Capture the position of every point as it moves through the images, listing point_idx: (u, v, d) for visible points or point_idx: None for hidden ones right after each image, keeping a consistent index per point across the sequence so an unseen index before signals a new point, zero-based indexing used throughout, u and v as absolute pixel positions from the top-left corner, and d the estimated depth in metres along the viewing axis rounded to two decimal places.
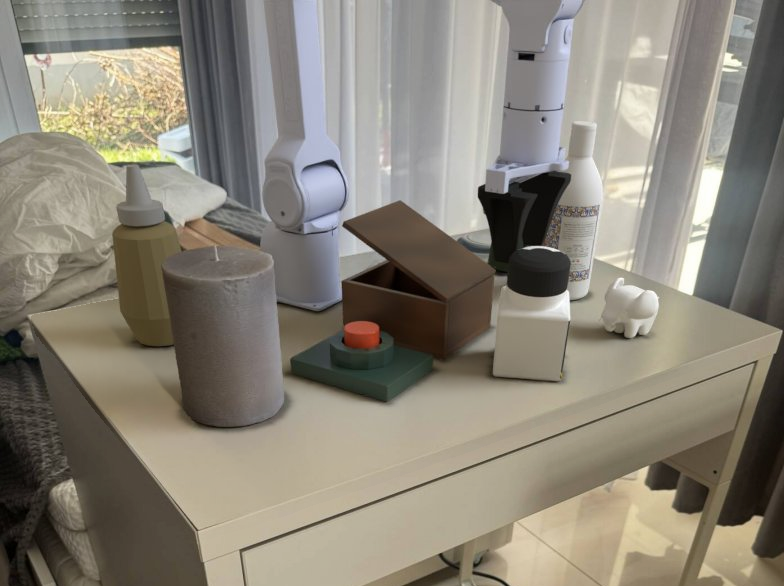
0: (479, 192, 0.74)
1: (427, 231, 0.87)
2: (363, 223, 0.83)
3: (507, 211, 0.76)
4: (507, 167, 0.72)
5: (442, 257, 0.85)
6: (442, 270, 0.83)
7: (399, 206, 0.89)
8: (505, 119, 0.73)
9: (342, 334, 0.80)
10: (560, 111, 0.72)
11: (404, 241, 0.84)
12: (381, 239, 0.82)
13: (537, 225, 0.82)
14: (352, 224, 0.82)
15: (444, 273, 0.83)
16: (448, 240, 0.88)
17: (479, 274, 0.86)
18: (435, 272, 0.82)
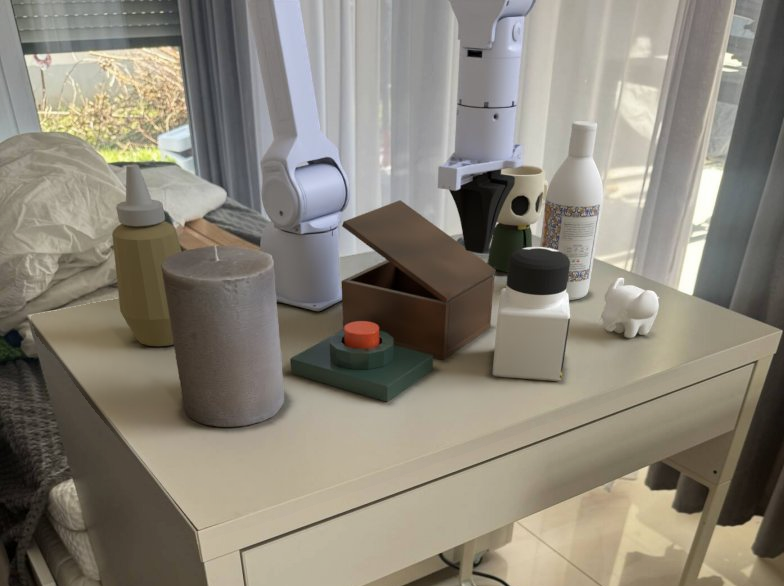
0: None
1: (427, 231, 0.87)
2: (363, 223, 0.83)
3: (476, 201, 0.78)
4: (460, 164, 0.73)
5: (442, 257, 0.85)
6: (442, 270, 0.83)
7: (399, 206, 0.89)
8: (458, 116, 0.73)
9: (342, 334, 0.80)
10: (512, 108, 0.72)
11: (404, 241, 0.84)
12: (381, 239, 0.82)
13: None
14: (352, 224, 0.82)
15: (444, 273, 0.83)
16: (448, 240, 0.88)
17: (479, 274, 0.86)
18: (435, 272, 0.82)
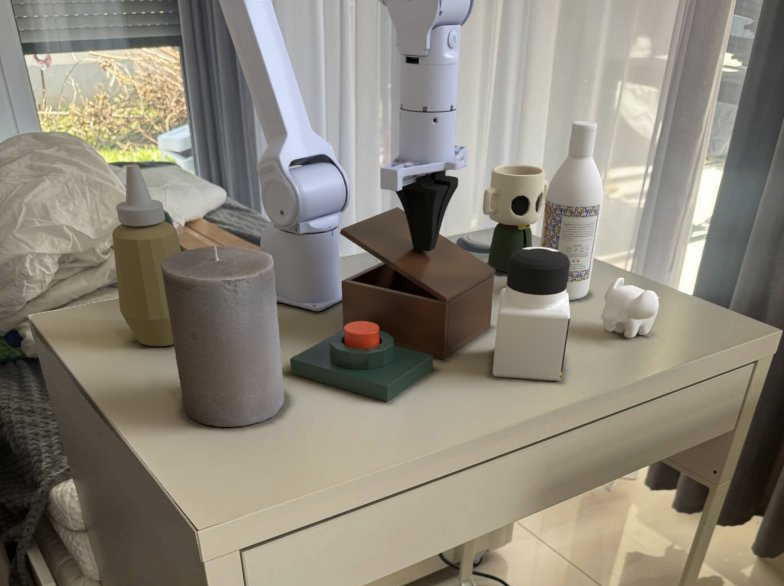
0: None
1: None
2: (361, 230, 0.84)
3: (421, 201, 0.81)
4: (401, 166, 0.76)
5: (441, 260, 0.85)
6: (441, 272, 0.83)
7: (397, 212, 0.89)
8: (401, 120, 0.76)
9: (342, 334, 0.80)
10: (452, 112, 0.75)
11: (402, 245, 0.84)
12: (379, 244, 0.83)
13: None
14: (350, 231, 0.83)
15: (444, 274, 0.83)
16: (447, 243, 0.88)
17: (478, 274, 0.86)
18: (434, 273, 0.82)
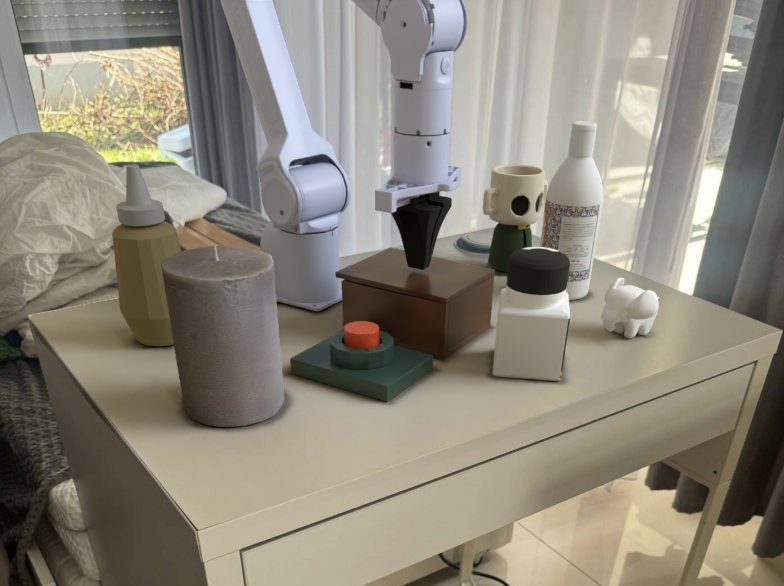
0: None
1: None
2: (355, 269, 0.87)
3: (416, 221, 0.83)
4: (396, 188, 0.77)
5: (437, 273, 0.86)
6: (438, 281, 0.84)
7: (390, 251, 0.92)
8: (395, 142, 0.78)
9: (342, 334, 0.80)
10: (445, 136, 0.77)
11: (397, 271, 0.86)
12: (374, 275, 0.85)
13: None
14: (344, 272, 0.86)
15: (441, 282, 0.84)
16: (442, 261, 0.90)
17: (477, 276, 0.86)
18: (431, 284, 0.83)
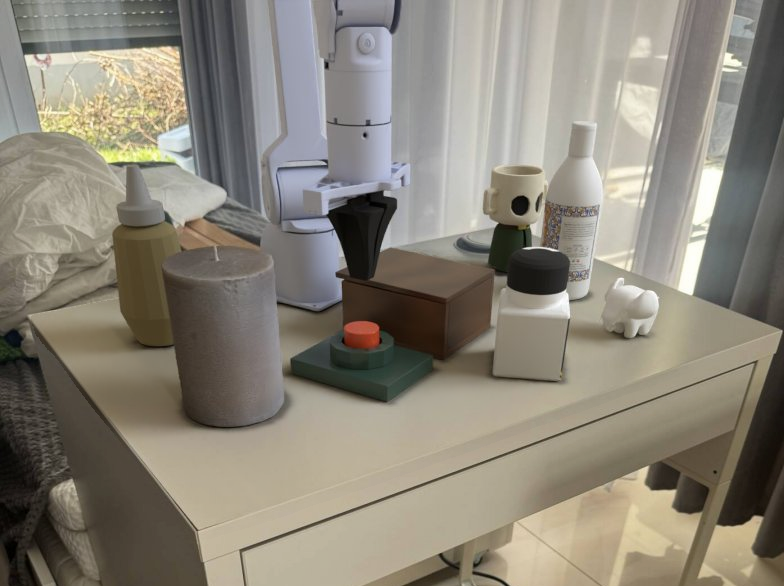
0: None
1: (420, 260, 0.90)
2: None
3: (356, 226, 0.72)
4: (328, 186, 0.67)
5: (437, 273, 0.86)
6: (438, 281, 0.84)
7: (390, 251, 0.92)
8: (328, 134, 0.67)
9: (342, 334, 0.80)
10: (385, 126, 0.66)
11: (397, 271, 0.86)
12: (374, 275, 0.85)
13: None
14: (344, 272, 0.86)
15: (441, 282, 0.84)
16: (442, 261, 0.90)
17: (477, 276, 0.86)
18: (431, 284, 0.83)
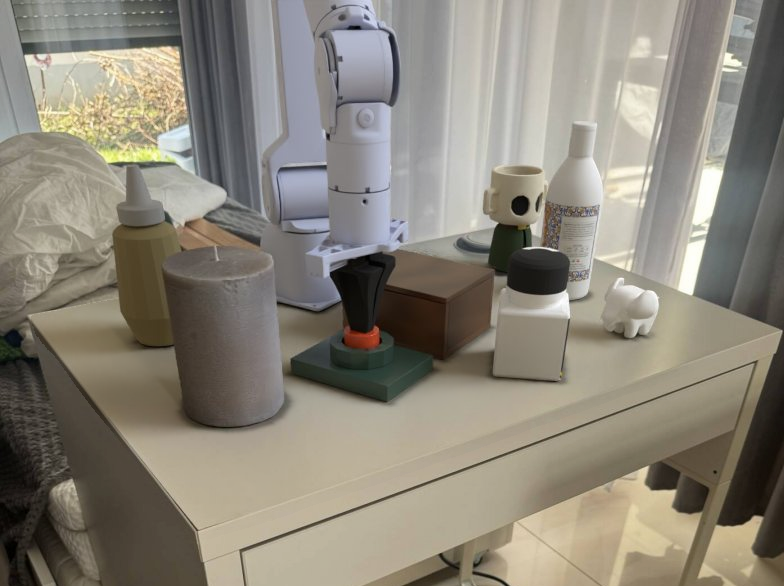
0: None
1: (420, 260, 0.90)
2: None
3: (356, 283, 0.75)
4: (329, 250, 0.70)
5: (437, 273, 0.86)
6: (438, 281, 0.84)
7: None
8: (329, 199, 0.70)
9: (342, 334, 0.80)
10: (384, 192, 0.69)
11: (397, 271, 0.86)
12: None
13: None
14: None
15: (441, 282, 0.84)
16: (442, 261, 0.90)
17: (477, 276, 0.86)
18: (431, 284, 0.83)
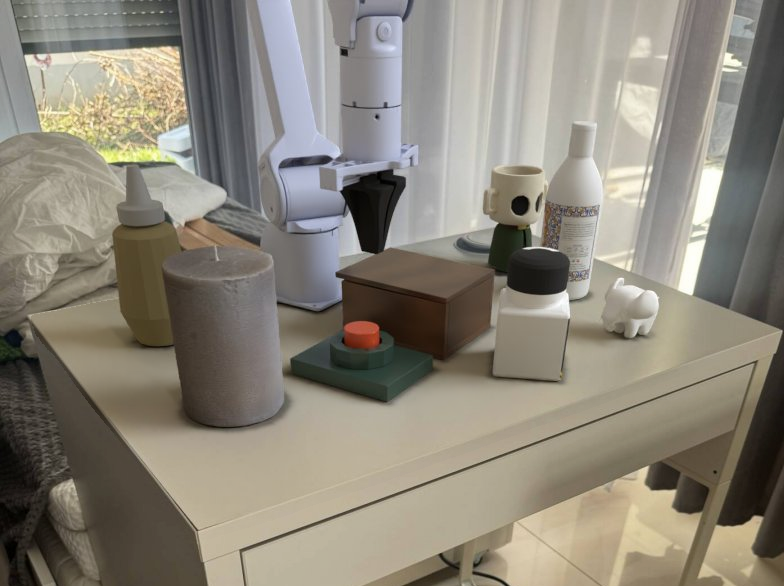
0: None
1: (420, 260, 0.90)
2: (355, 269, 0.87)
3: (367, 202, 0.77)
4: (342, 165, 0.72)
5: (437, 273, 0.86)
6: (438, 281, 0.84)
7: (390, 251, 0.92)
8: (342, 116, 0.73)
9: (342, 334, 0.80)
10: (395, 108, 0.72)
11: (397, 271, 0.86)
12: (374, 275, 0.85)
13: None
14: (344, 272, 0.86)
15: (441, 282, 0.84)
16: (442, 261, 0.90)
17: (477, 276, 0.86)
18: (431, 284, 0.83)
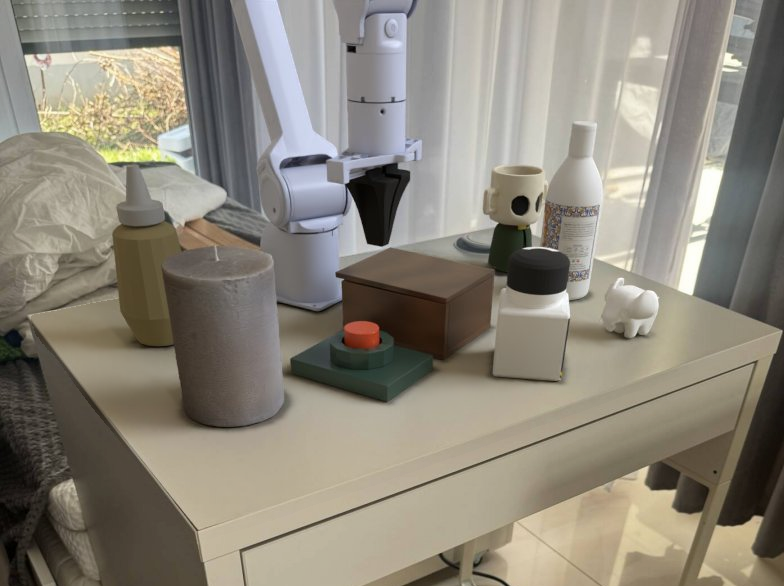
0: None
1: (420, 260, 0.90)
2: (355, 269, 0.87)
3: (373, 195, 0.79)
4: (349, 158, 0.74)
5: (437, 273, 0.86)
6: (438, 281, 0.84)
7: (390, 251, 0.92)
8: (348, 111, 0.75)
9: (342, 334, 0.80)
10: (400, 103, 0.74)
11: (397, 271, 0.86)
12: (374, 275, 0.85)
13: None
14: (344, 272, 0.86)
15: (441, 282, 0.84)
16: (442, 261, 0.90)
17: (477, 276, 0.86)
18: (431, 284, 0.83)
